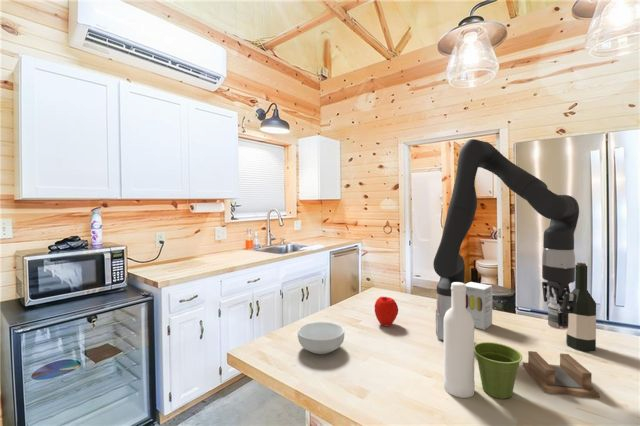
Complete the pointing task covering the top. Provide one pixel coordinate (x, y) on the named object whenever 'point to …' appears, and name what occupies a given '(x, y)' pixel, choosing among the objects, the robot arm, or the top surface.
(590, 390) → the cradle
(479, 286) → the supplement box
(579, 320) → the wine bottle
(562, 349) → the top surface
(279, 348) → the top surface
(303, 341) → the cereal bowl
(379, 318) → the apple
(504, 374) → the plant pot
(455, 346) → the bottle
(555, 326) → the pill bottle
